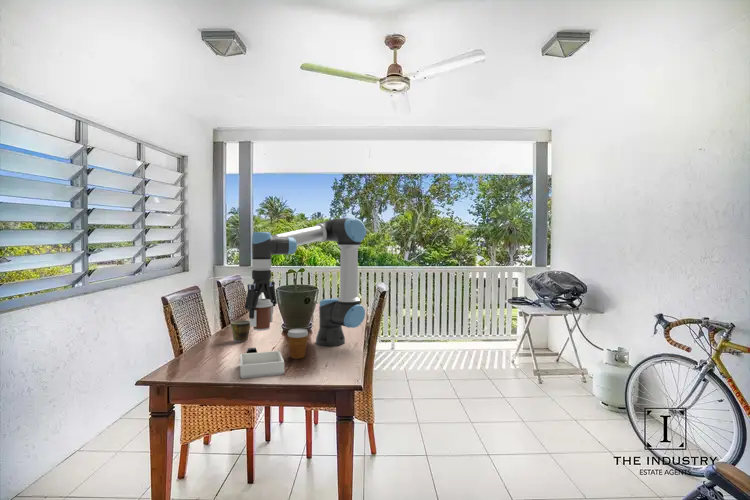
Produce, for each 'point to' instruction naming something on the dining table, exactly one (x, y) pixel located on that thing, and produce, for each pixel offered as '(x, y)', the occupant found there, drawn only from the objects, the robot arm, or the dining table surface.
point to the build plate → (251, 350)
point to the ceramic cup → (240, 330)
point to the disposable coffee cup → (297, 342)
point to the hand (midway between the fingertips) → (261, 324)
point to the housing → (261, 364)
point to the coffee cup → (263, 314)
